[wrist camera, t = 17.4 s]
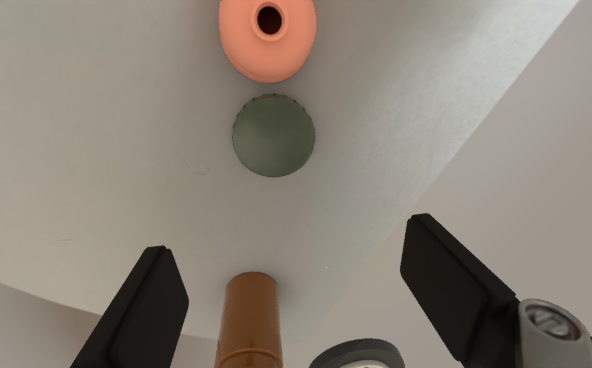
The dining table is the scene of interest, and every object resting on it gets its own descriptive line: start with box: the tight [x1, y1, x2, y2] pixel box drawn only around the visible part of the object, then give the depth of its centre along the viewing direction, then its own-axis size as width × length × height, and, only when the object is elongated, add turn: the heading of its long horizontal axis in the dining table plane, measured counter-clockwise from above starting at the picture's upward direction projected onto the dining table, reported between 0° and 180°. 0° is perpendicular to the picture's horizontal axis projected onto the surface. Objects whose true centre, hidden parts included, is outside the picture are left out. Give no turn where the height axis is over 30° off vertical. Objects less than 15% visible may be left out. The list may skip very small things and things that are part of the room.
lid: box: [232, 93, 315, 177], centre depth 22 cm, size 7×7×2 cm
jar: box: [214, 272, 283, 368], centre depth 27 cm, size 6×6×11 cm
